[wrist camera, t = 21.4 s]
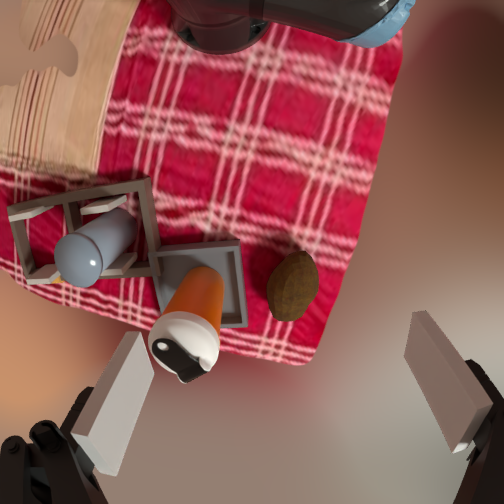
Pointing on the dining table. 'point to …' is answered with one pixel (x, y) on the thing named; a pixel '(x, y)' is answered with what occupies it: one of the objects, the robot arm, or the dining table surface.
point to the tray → (207, 255)
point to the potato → (292, 286)
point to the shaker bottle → (190, 326)
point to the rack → (33, 207)
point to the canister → (94, 247)
